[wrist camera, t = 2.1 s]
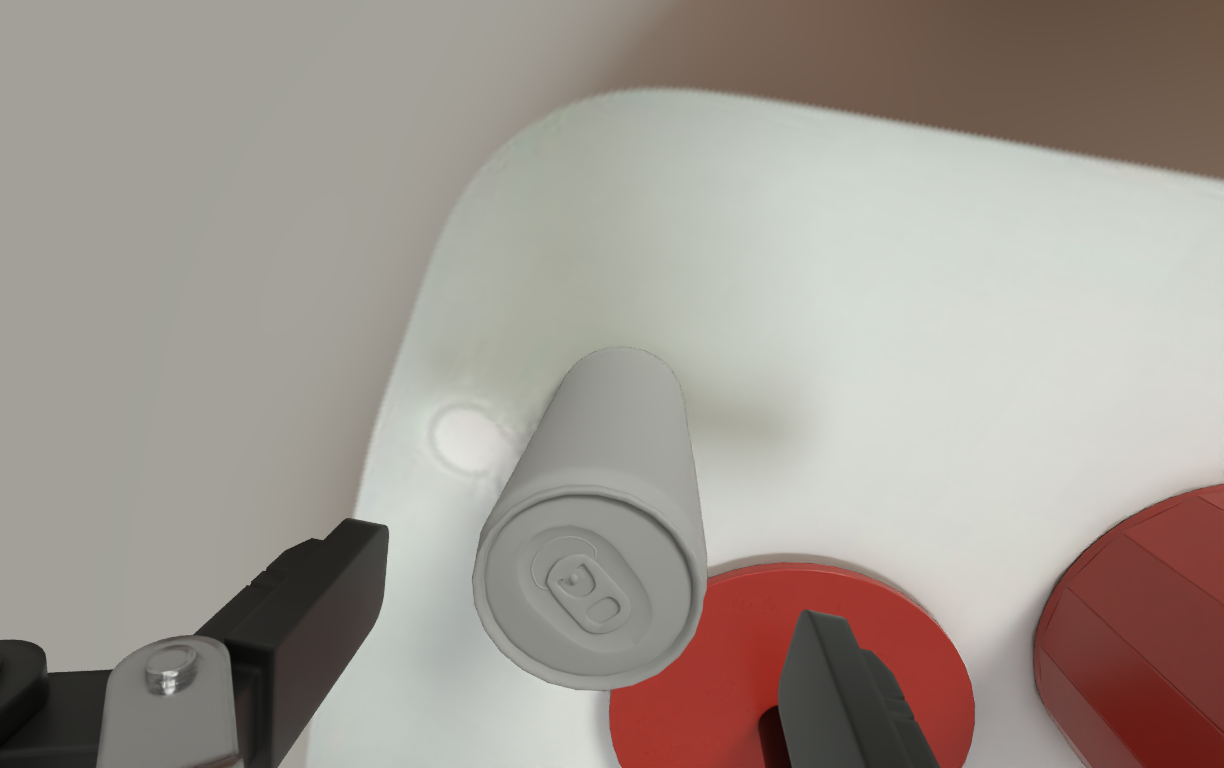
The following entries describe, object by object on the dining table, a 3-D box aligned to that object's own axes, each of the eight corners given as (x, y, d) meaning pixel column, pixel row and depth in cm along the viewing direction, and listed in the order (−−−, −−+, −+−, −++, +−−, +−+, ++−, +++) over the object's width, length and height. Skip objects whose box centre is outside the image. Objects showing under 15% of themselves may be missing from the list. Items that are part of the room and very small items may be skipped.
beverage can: (632, 316, 23) (604, 431, 11) (712, 415, 24) (762, 619, 12) (533, 393, 24) (414, 572, 12) (613, 487, 25) (571, 734, 13)
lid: (543, 658, 27) (512, 782, 21) (851, 488, 24) (912, 580, 18) (727, 880, 30) (743, 1045, 24) (1024, 754, 27) (1127, 909, 21)
